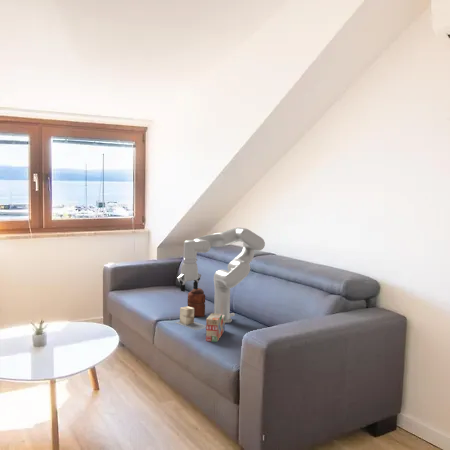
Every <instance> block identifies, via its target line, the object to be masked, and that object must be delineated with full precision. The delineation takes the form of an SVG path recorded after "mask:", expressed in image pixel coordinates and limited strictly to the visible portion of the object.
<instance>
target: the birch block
mask: <svg viewBox="0 0 450 450" xmlns="http://www.w3.org/2000/svg"><path fill="white" fill-rule="evenodd" d="M179 321H180V323H182V324H185V325H188V324H192V323H194V322H195V316H194V308H192V307H189V306H188V305H187V306H183V307H182V306H181V307H179Z"/></svg>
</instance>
